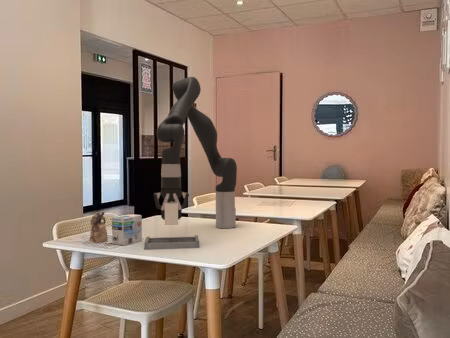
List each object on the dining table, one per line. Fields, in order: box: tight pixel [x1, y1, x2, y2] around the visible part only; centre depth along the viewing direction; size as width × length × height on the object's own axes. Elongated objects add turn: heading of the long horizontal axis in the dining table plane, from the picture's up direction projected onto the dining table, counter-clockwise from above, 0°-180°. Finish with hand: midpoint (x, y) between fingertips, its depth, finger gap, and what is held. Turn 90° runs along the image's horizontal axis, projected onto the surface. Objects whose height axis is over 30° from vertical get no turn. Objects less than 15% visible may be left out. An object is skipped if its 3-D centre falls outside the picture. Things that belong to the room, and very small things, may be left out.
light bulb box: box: [111, 213, 143, 246], centre depth 174 cm, size 11×7×11 cm, turn 148°
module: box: [164, 202, 179, 226], centre depth 168 cm, size 5×8×8 cm, turn 6°
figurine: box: [89, 211, 108, 244], centre depth 177 cm, size 7×7×12 cm
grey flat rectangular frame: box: [143, 234, 200, 250], centre depth 168 cm, size 20×12×2 cm, turn 96°
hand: (171, 219), depth 168 cm, fingers closed on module, 5 cm apart
